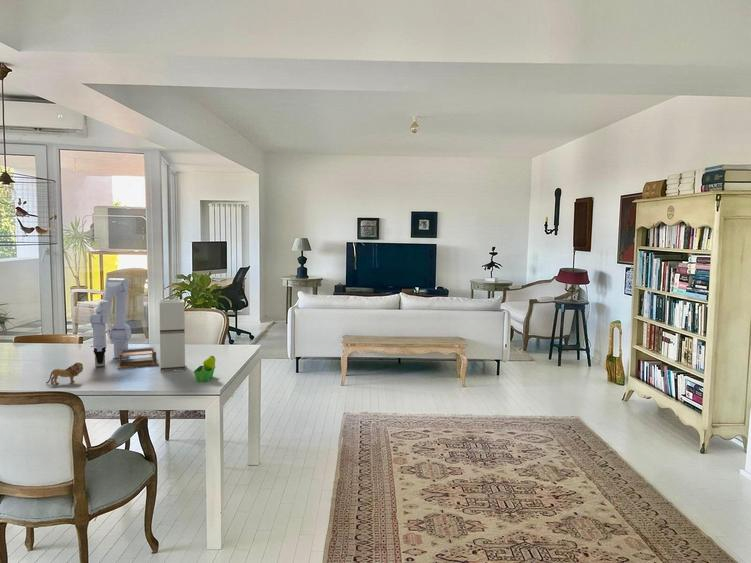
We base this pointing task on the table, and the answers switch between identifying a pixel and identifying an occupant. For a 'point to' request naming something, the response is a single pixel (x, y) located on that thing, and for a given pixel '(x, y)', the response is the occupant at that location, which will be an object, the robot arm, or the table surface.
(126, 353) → the trapdoor
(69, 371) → the lion figurine
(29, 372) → the table surface
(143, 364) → the frame
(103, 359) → the pale sage cube
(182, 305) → the striped white tower
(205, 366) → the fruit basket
